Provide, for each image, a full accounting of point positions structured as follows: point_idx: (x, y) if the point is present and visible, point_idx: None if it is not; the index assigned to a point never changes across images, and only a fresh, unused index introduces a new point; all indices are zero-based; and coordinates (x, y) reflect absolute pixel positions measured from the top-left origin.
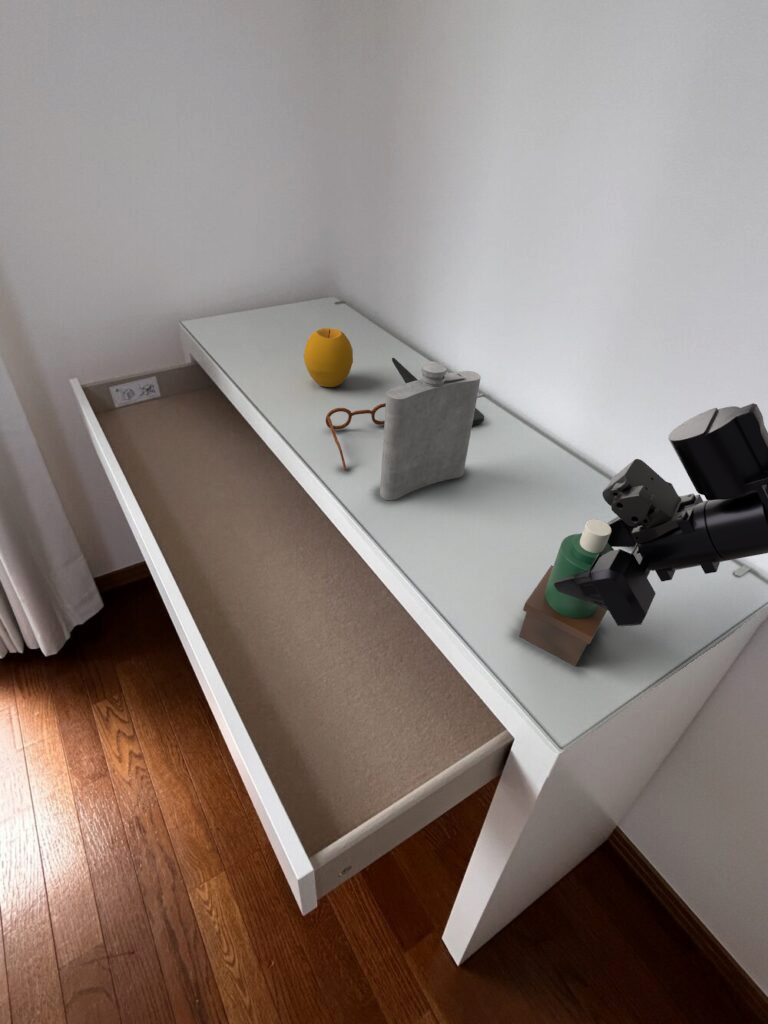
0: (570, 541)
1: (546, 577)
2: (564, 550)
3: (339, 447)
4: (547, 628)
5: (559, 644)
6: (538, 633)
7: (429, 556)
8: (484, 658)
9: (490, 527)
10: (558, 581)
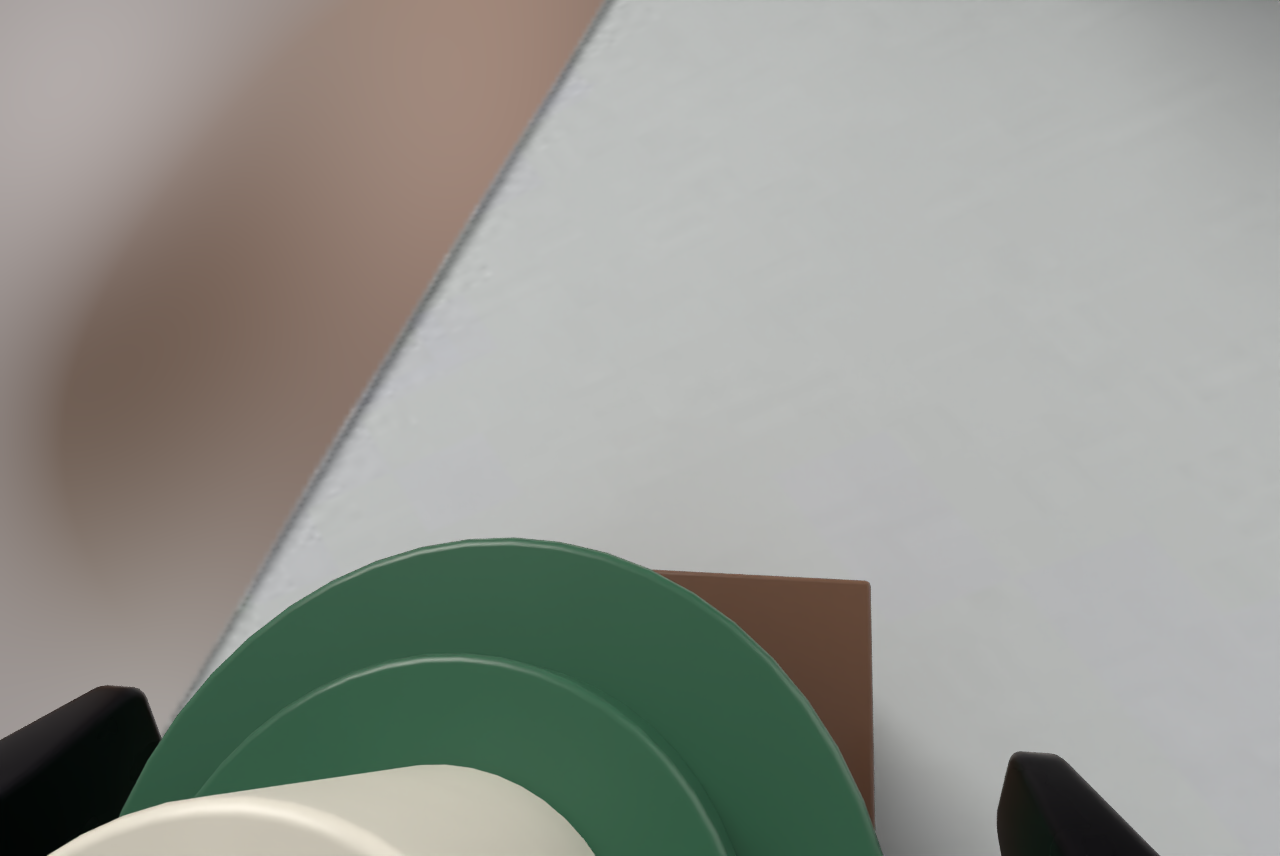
0: (553, 633)
1: (719, 595)
2: (332, 621)
3: None
4: None
5: None
6: None
7: (743, 73)
8: (302, 533)
9: (1165, 188)
10: (51, 722)
